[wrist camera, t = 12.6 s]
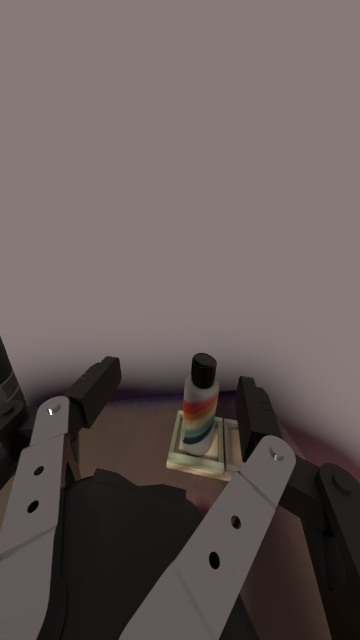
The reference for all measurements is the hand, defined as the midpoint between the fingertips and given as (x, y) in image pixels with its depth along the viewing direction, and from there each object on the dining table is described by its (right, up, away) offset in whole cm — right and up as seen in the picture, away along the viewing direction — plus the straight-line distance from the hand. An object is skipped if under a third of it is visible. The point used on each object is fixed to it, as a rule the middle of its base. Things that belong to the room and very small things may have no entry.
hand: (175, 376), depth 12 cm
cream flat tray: (+9, -22, +24) cm, 34 cm away
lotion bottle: (+3, -21, +24) cm, 32 cm away
